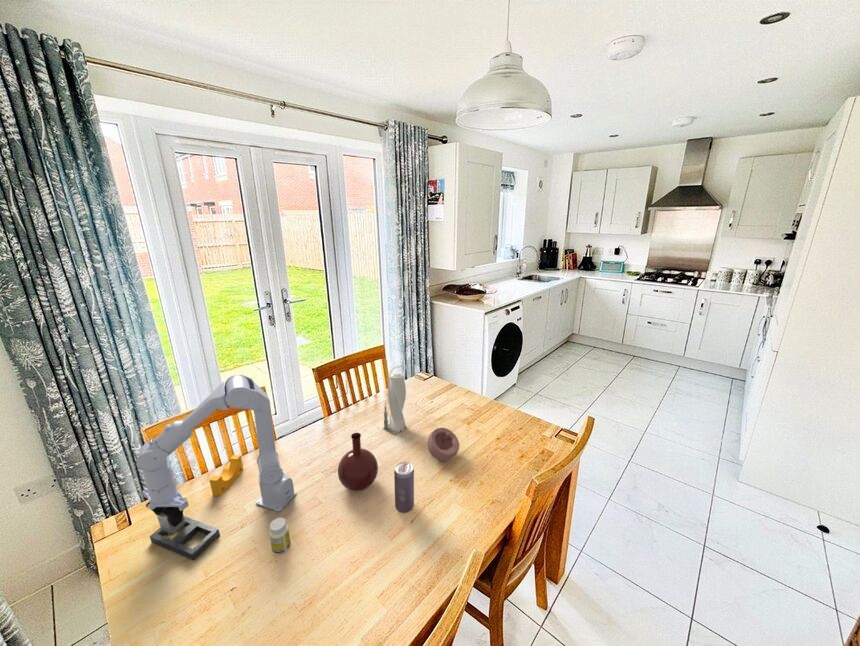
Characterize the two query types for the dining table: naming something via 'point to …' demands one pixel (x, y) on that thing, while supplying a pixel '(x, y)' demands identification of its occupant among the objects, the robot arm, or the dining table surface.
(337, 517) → the dining table surface
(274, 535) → the supplement bottle
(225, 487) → the pipe clamp
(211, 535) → the dark grey flat frame
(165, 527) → the block
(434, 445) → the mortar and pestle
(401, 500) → the beverage can
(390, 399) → the skyscraper
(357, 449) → the round-bottom flask
